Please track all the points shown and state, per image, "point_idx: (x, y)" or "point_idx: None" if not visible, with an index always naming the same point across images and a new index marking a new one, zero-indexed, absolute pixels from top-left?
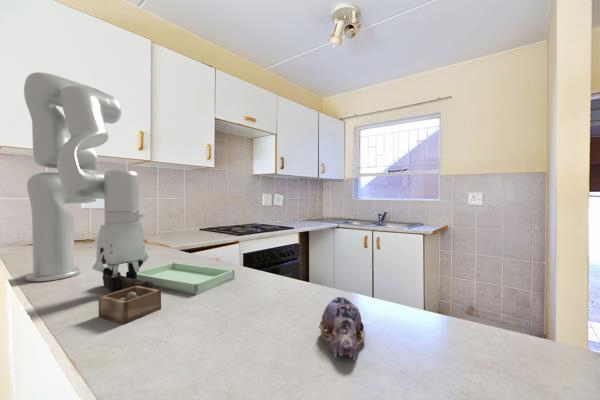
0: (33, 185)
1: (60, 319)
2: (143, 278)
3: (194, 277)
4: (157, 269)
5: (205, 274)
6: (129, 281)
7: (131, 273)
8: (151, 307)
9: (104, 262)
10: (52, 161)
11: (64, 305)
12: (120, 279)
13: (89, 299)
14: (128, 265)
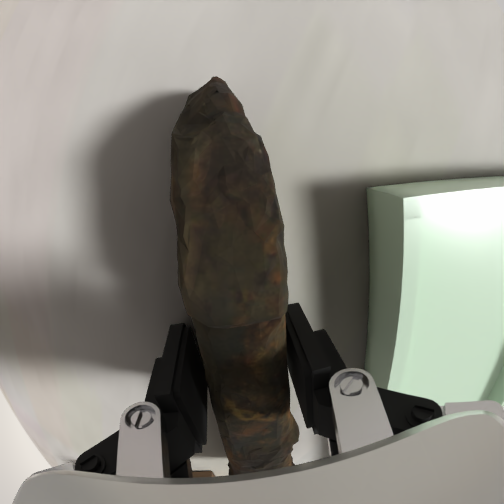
0: None
1: (31, 417)
2: (386, 330)
3: (468, 385)
4: None
5: (495, 372)
6: (239, 457)
7: (308, 418)
8: None
9: (85, 481)
10: None
11: (9, 318)
12: (224, 403)
13: (79, 331)
14: (335, 433)
